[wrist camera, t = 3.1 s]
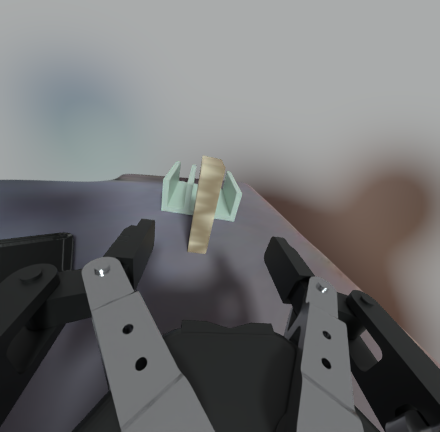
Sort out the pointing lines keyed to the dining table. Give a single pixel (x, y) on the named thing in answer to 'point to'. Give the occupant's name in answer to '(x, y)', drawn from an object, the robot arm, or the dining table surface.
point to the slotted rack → (186, 194)
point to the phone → (36, 252)
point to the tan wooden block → (205, 203)
